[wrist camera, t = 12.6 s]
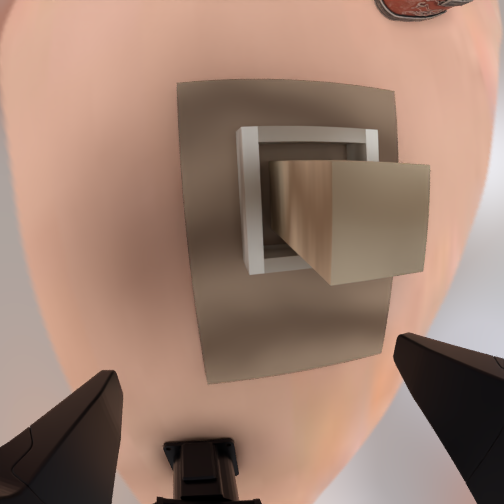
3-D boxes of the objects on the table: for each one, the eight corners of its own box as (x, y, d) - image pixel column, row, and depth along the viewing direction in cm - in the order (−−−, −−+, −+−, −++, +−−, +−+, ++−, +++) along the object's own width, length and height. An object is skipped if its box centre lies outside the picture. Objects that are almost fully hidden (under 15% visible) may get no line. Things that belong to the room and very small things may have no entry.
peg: (333, 223, 19) (423, 271, 11) (271, 228, 19) (330, 285, 10) (332, 160, 18) (430, 165, 9) (268, 160, 17) (331, 161, 9)
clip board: (375, 347, 24) (396, 370, 21) (207, 376, 22) (209, 407, 19) (386, 93, 18) (416, 85, 15) (178, 87, 16) (173, 70, 13)
